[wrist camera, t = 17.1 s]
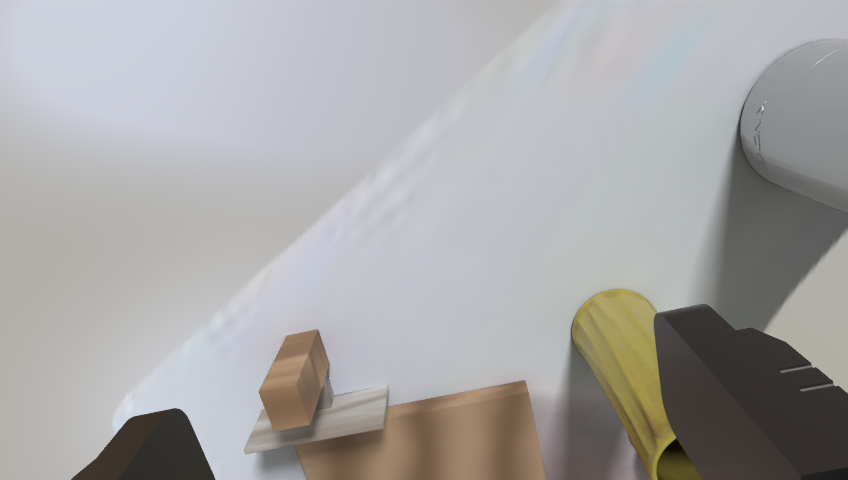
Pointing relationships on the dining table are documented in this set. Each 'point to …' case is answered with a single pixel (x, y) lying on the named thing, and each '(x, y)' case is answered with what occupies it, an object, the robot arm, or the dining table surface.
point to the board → (438, 441)
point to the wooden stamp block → (310, 400)
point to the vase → (631, 376)
